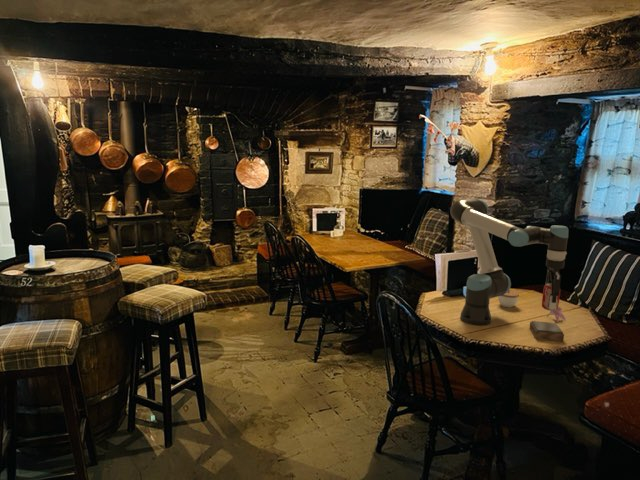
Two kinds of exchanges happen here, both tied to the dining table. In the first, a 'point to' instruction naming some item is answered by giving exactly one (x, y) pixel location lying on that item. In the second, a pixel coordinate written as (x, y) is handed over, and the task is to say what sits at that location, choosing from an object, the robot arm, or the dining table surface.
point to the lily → (557, 314)
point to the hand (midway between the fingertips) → (549, 305)
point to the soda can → (548, 297)
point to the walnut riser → (546, 331)
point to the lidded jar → (508, 299)
